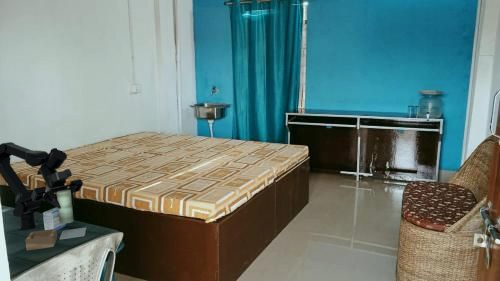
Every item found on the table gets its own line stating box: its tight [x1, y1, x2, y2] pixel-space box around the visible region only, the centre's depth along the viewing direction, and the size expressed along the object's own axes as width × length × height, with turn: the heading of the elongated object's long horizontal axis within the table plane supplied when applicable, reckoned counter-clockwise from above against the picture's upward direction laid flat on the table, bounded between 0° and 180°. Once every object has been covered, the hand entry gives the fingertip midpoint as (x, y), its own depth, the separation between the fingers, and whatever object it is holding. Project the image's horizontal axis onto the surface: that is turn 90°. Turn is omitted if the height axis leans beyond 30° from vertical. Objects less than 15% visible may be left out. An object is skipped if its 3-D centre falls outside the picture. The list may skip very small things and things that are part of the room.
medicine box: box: [42, 206, 67, 232], centre depth 156 cm, size 8×4×9 cm, turn 168°
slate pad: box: [59, 227, 87, 240], centre depth 149 cm, size 9×9×1 cm
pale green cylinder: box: [56, 190, 75, 225], centre depth 146 cm, size 5×5×12 cm
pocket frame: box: [24, 229, 58, 251], centre depth 139 cm, size 9×9×4 cm
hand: (66, 206), depth 145 cm, fingers closed on pale green cylinder, 5 cm apart
